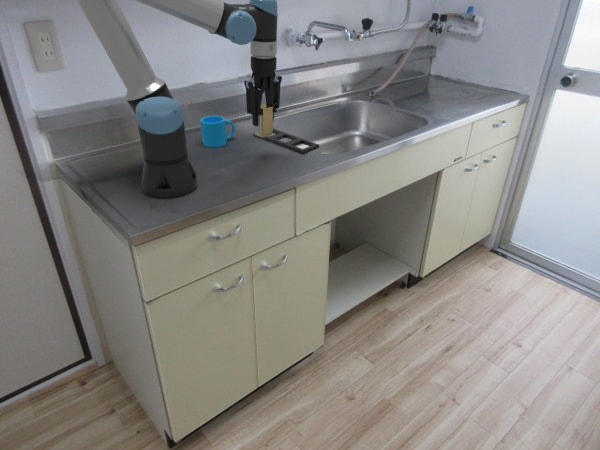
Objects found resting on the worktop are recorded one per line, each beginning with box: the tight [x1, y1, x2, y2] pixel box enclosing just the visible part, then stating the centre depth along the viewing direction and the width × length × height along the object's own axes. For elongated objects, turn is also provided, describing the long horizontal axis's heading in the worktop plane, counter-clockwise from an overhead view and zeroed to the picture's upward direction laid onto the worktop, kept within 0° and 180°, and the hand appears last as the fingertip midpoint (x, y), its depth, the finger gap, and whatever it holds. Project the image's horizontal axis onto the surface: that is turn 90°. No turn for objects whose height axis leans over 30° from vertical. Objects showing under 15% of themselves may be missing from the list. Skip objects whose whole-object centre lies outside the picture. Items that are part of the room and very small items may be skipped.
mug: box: [199, 115, 236, 148], centre depth 155 cm, size 12×8×8 cm
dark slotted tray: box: [253, 128, 320, 155], centre depth 158 cm, size 8×24×1 cm, turn 47°
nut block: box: [260, 103, 274, 138], centre depth 142 cm, size 4×4×9 cm
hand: (263, 133), depth 144 cm, fingers closed on nut block, 4 cm apart
